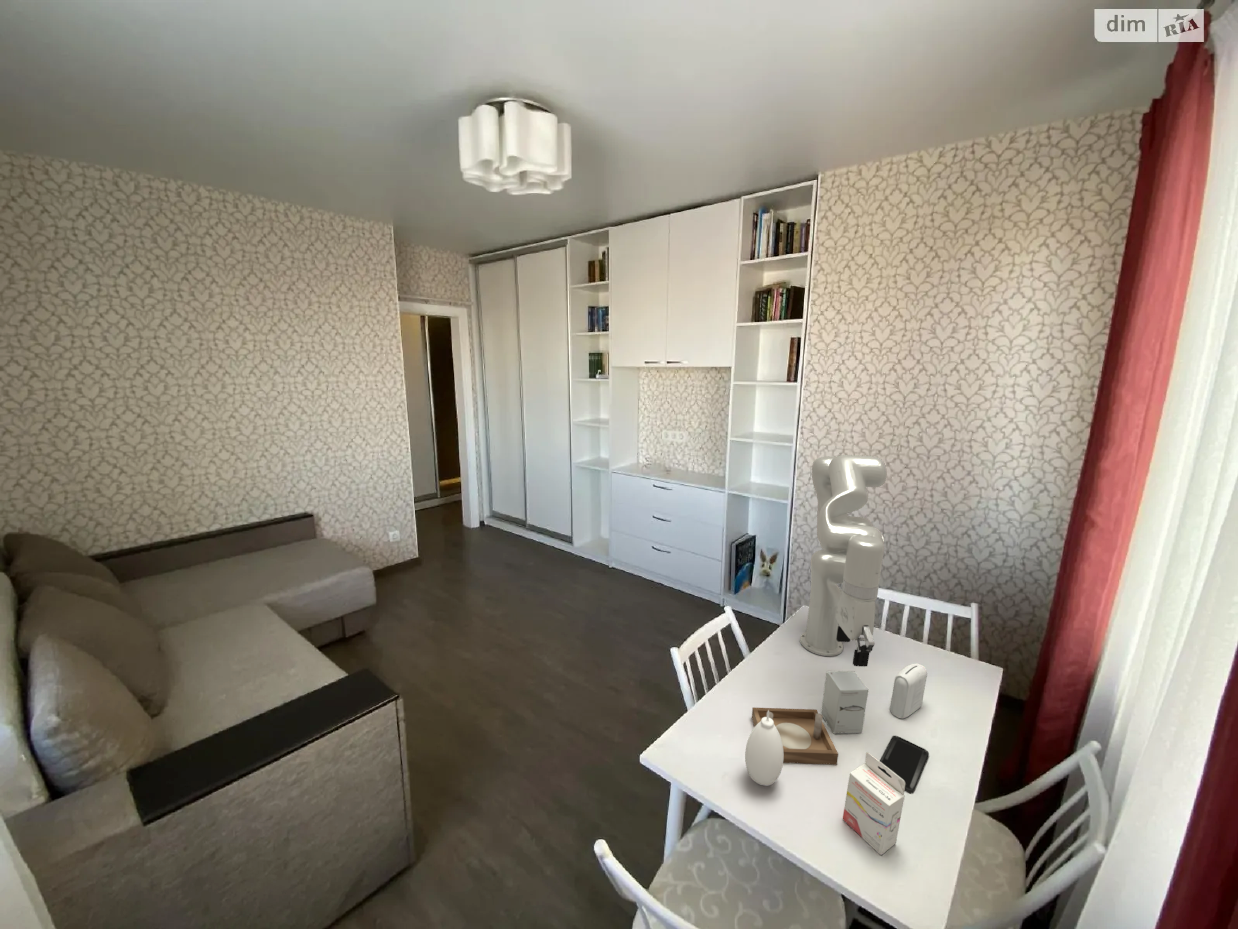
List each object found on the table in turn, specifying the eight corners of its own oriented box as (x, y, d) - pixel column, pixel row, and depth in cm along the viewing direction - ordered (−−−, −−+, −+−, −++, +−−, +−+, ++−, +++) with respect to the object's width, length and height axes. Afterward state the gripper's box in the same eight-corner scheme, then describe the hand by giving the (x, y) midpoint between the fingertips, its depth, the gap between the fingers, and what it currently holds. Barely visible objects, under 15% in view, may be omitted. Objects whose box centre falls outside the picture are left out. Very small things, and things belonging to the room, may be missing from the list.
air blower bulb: (750, 760, 115) (756, 692, 110) (785, 776, 111) (792, 706, 106) (738, 784, 108) (743, 713, 104) (774, 803, 104) (782, 729, 100)
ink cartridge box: (841, 820, 101) (849, 758, 97) (856, 809, 103) (865, 749, 100) (881, 857, 93) (892, 792, 90) (897, 844, 96) (908, 781, 92)
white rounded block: (907, 697, 136) (914, 656, 133) (924, 706, 133) (931, 665, 130) (886, 711, 130) (893, 670, 128) (903, 722, 127) (910, 679, 124)
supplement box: (833, 735, 123) (839, 690, 120) (820, 713, 130) (825, 670, 127) (862, 734, 123) (869, 689, 120) (848, 712, 130) (854, 670, 127)
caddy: (751, 717, 128) (753, 693, 126) (815, 719, 127) (818, 695, 126) (765, 762, 114) (767, 736, 113) (836, 764, 114) (840, 738, 112)
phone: (930, 751, 117) (913, 792, 106) (929, 755, 117) (912, 796, 106) (893, 733, 122) (873, 771, 111) (892, 737, 122) (872, 775, 112)
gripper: (829, 571, 126) (822, 632, 130) (859, 606, 109) (850, 675, 113) (860, 572, 126) (851, 633, 130) (894, 607, 109) (884, 676, 113)
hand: (851, 652), depth 121 cm, fingers open, 9 cm apart
